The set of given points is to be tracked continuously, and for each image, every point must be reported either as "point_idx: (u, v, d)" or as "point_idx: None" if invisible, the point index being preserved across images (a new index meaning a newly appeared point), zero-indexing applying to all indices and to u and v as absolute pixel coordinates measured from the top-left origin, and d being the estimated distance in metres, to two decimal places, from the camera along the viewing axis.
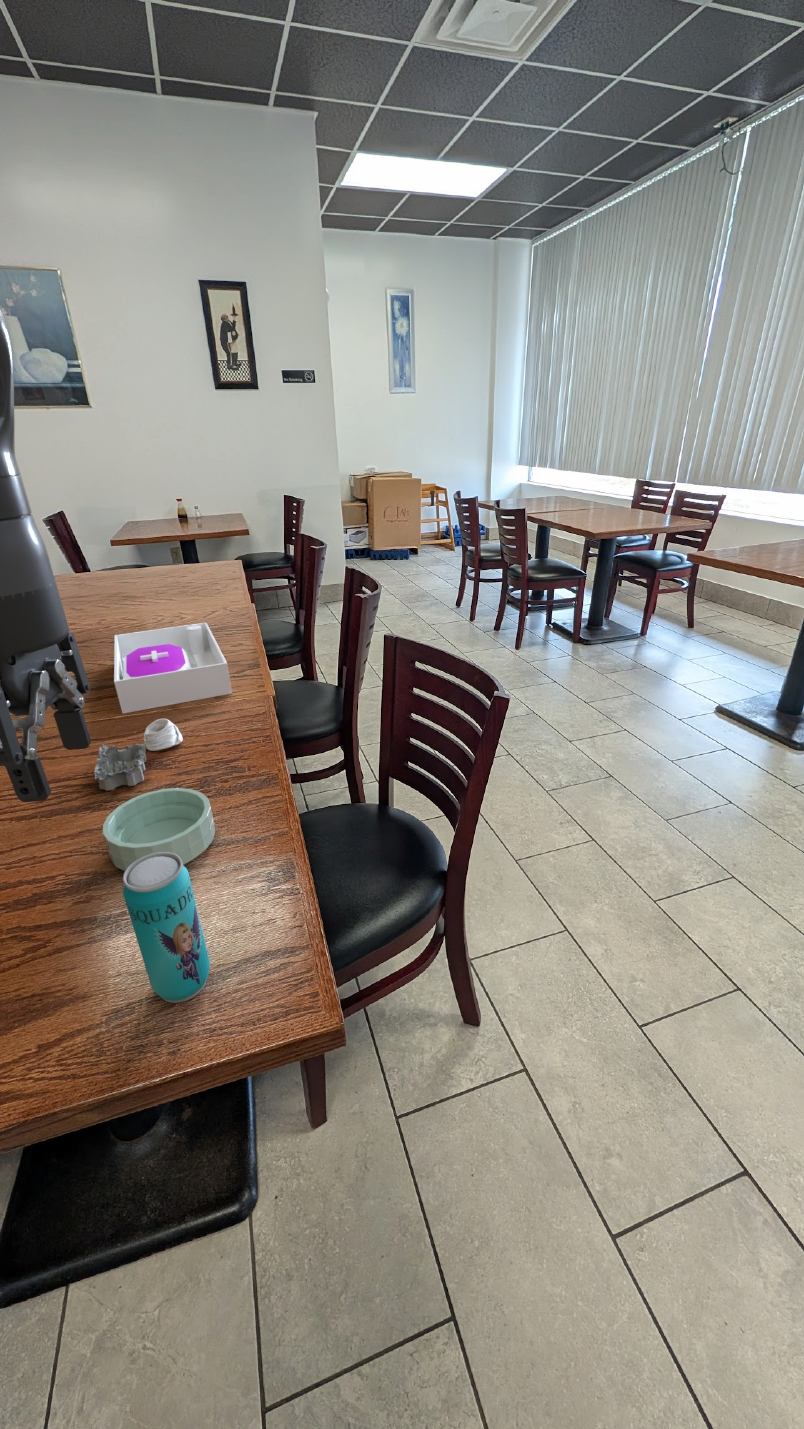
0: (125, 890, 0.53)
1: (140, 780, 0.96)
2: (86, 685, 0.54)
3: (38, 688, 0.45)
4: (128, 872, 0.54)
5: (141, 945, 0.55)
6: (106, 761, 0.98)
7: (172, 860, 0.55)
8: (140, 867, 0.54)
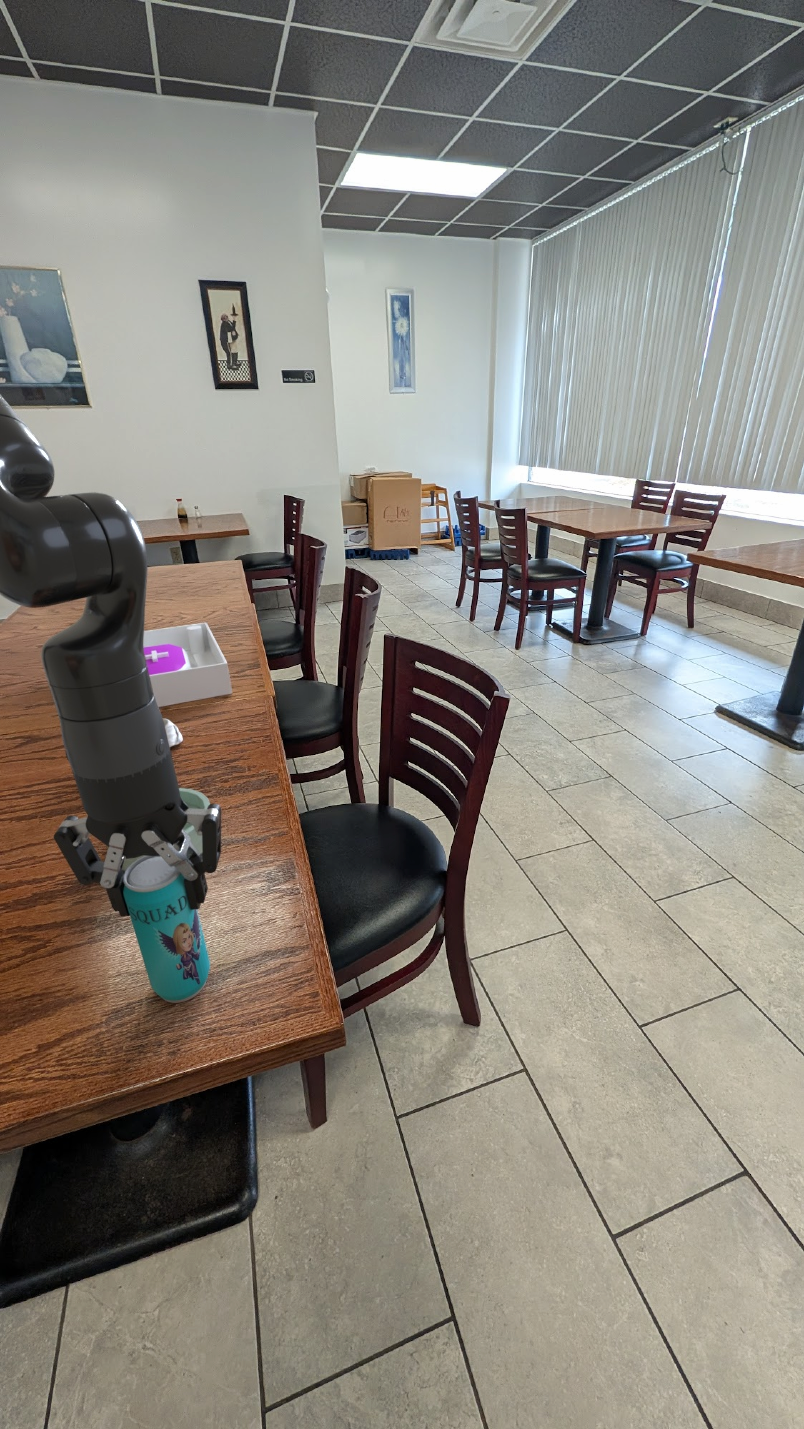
0: (125, 890, 0.53)
1: None
2: (207, 866, 0.53)
3: None
4: (128, 872, 0.54)
5: (141, 945, 0.55)
6: None
7: None
8: (140, 867, 0.54)
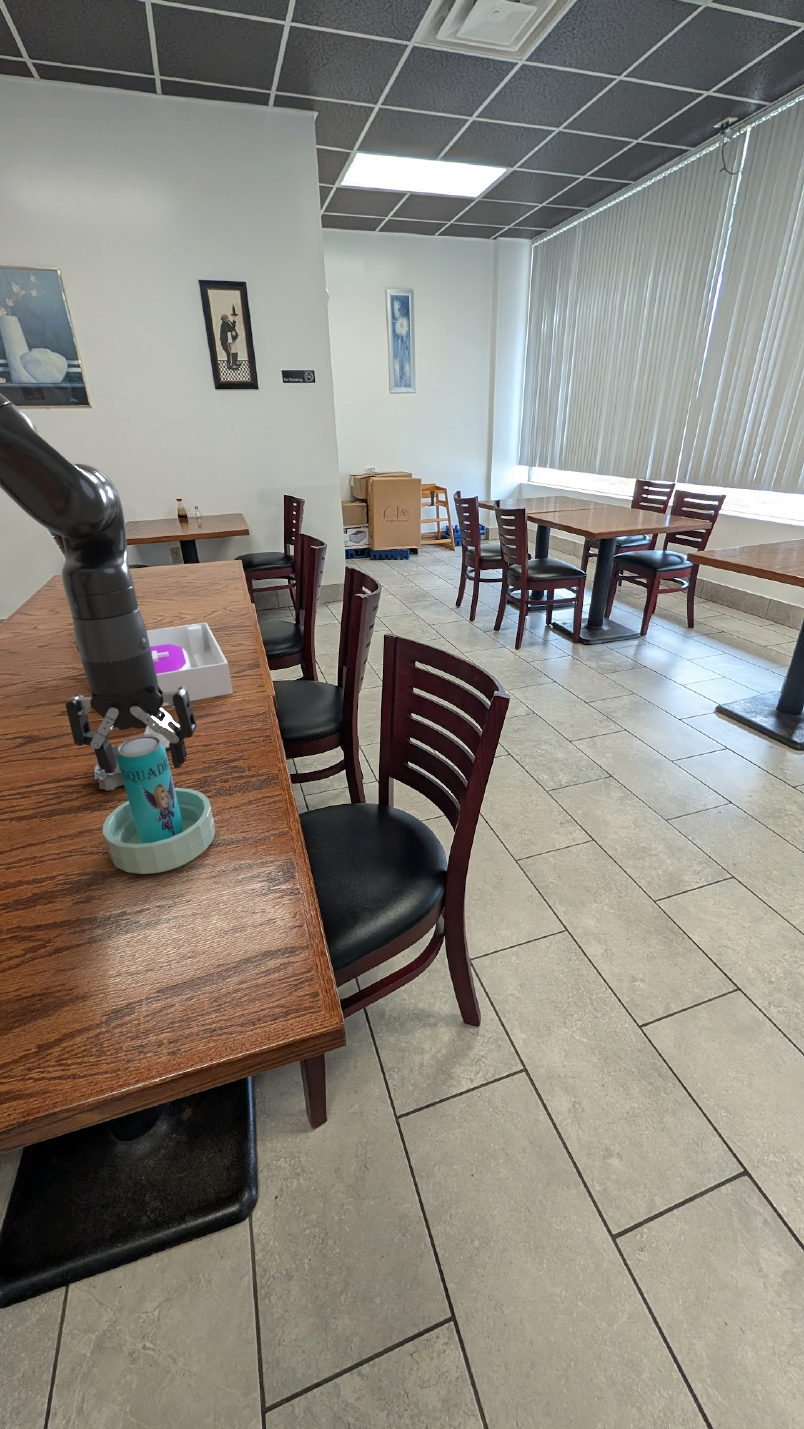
0: (119, 758, 0.73)
1: None
2: (185, 732, 0.73)
3: (106, 715, 0.70)
4: (121, 747, 0.75)
5: (131, 801, 0.75)
6: None
7: (153, 740, 0.76)
8: (130, 743, 0.75)
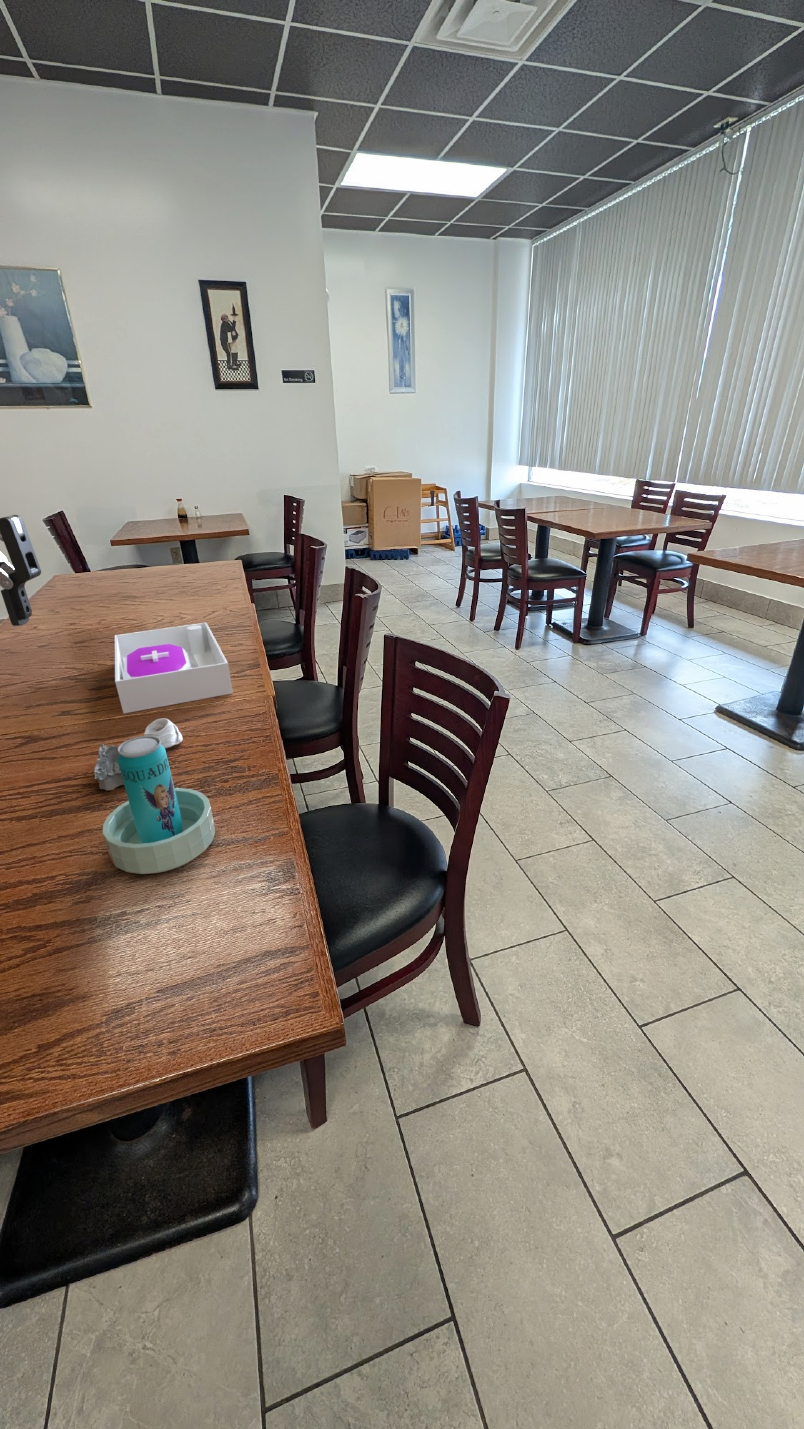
0: (119, 758, 0.73)
1: None
2: (20, 573, 0.56)
3: None
4: (121, 747, 0.75)
5: (131, 801, 0.75)
6: (106, 761, 0.98)
7: (153, 740, 0.76)
8: (130, 743, 0.75)
